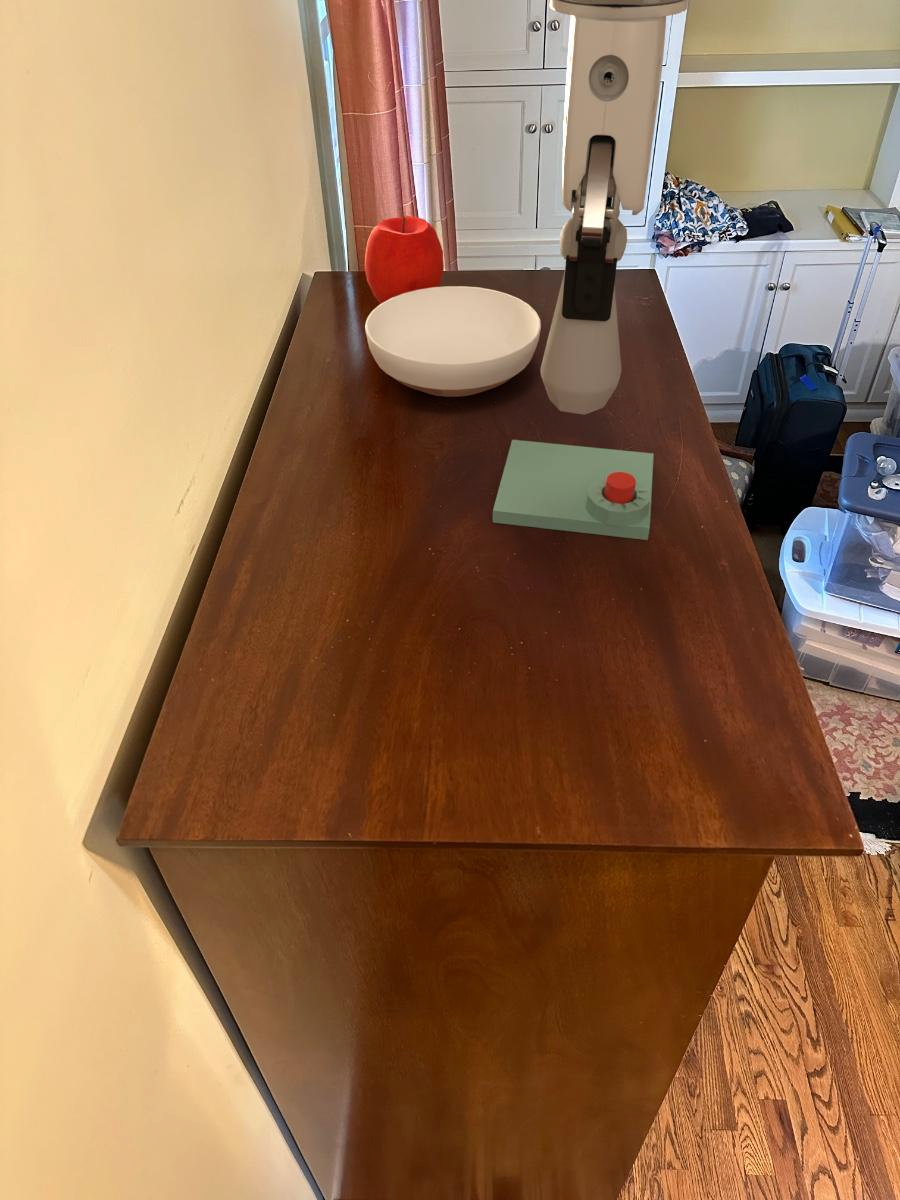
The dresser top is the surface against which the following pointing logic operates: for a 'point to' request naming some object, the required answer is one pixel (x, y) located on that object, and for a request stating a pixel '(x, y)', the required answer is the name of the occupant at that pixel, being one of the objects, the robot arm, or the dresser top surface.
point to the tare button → (620, 487)
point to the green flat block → (573, 489)
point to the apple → (403, 257)
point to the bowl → (453, 339)
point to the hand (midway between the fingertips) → (588, 299)
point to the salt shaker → (582, 348)
